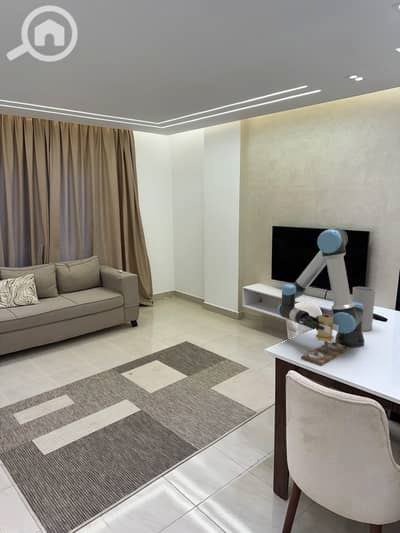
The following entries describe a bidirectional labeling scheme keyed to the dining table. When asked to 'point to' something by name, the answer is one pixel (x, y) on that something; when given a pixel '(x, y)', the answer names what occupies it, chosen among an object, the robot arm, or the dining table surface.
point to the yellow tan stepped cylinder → (328, 322)
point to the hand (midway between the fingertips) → (333, 329)
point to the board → (325, 353)
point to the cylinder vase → (365, 304)
